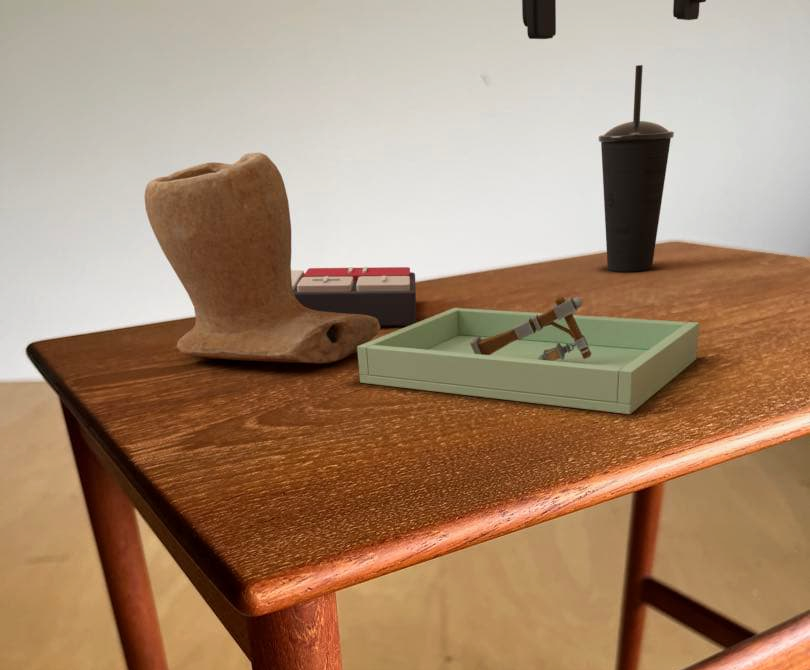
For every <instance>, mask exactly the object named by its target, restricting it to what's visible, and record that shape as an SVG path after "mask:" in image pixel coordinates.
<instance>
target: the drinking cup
mask: <svg viewBox="0 0 810 670" xmlns="http://www.w3.org/2000/svg"><path fill="white" fill-rule="evenodd" d="M643 66H644V65H643V64H640V65H635V72H634V75H635V76H634V77H635V78H634V95H633V97H634V98H633V116H632V117H633V118H632V121H628V122H624V123H622V124H618V125H616V126H614V127H612V128H611V129H609V130H608V131H606V132H605V133H604V134H602V135H599V136H598V142H599V143H600V146H601V149H600V150H601V165H602V166H601V167H602V168H601V170H602V185H603V186H602V187H603V204H604V205H603V206H604V224H605V225H604V226H605V227H604V228H605V244H606V262H607V263H606V264H607V265H606V266H607V270H608V271H612V272H619V273H633V272H636V273H637V272H643V271H648V270H651V269H653V263H654V257H655V250H656V242H657V236H658V229H659V223H660V214H661V210H662V209H661V208H662V201H663V195H664V187H665V180H666V174H667V166H668V161H669V160H668V159H669V152H670V146H671V139H672V138H674V136H675V133H674V132H675V131H672V130H668V129H667V128H666V127H664V126H663V125H661V124H658V123H656V122H650V121H644V120H641V109H642V108H641V106H642V104H641V103H642V86H643V69H644V68H643Z"/></svg>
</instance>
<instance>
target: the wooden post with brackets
mask: <svg viewBox="0 0 810 670" xmlns="http://www.w3.org/2000/svg"><path fill="white" fill-rule="evenodd" d="M554 302H555V304H554V305H553V307H552V308H551V309H549V310H547V311H546V312H543V313H544V314H542V315H540V316H538V314H537V315H536V316H534V317H533V318H532V320H531V318H530V319H528V320H527V321H525V322H523V323H521V324H519V325H516V326H515V327H514V329H512V330H509V331H507V332H504V333H501V334H498V335H495V336H493V337H490V338H486V339H482V340H481V337H480V336H479V337H474V339H473V340H472V341H471V342H470V345H471V347H472V349H473V351H474V353H475V354H481V355H491V354H492V353H494V352H496V351H497V350H499V349H501V348H503V347H504V346H506V345H508V344H510V343H512V342H514V341H516V340H518V339H519V341H520V340H522V339H523V338H525V337H527V336H529V335H532V334H534V333H535V332H536V330H537V331H538V332H539V331H540V330H542V329H543V327H544V326H548V325H552V326H554V327H556V328H558V329H560V330H562V331H564V332H566V333H568V334H570V335H571V337H572V338H574V343H575V344H574V345H572V344H569V345H568V344H566V347H565V346H564V347H562V346H561V345H560V343H558V344H557V346H556V347H554V348H552V349H549V350H544V352H543V355H540V356H539V359H538V360H547V361H556V360H558V359H561V360H563V359H564V357H565V353H567V352H568V353H569V352H570V351H572V350H573V349H574V347H575V346H576V347H577V349H578V350H580V353H581V354H582V357H583V359H586V358H588V357H590V356H591V352H590V350H589V347H588V346H587V345H588V343H587V341H586V339H585V337H584V335H583V336H582V334H581V331H580V329H579V327H578V325H577V323H576V321H575V319H574V317H573V315H574V313H577V311H578V309H579V308H581V307H583V304H584V301H583V299H582V297H579V296H576V297H572V296H570V297H568V298H567V299H565V297H563V296H561V295H560V296H557V297H556V298H555V300H554ZM562 318H564V319H565V321H566V323H567V325H568V327H569V329H570V330H569V329H567V328H565V327H563V326H561V325H559V324H557V323H555V322H553V321H555V320H557V319H558V320H561V319H562ZM570 345H571V347H572V349H571V348H570ZM570 349H571V350H570Z"/></svg>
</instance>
